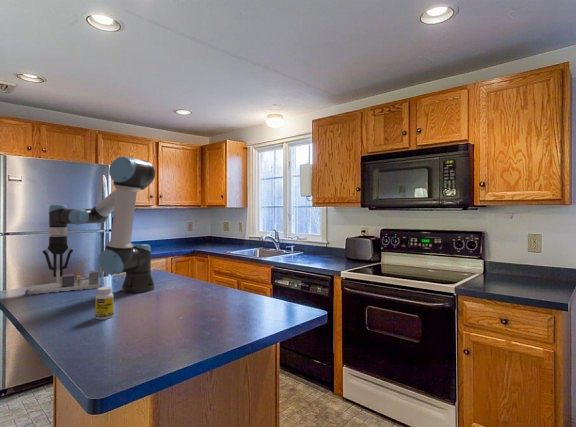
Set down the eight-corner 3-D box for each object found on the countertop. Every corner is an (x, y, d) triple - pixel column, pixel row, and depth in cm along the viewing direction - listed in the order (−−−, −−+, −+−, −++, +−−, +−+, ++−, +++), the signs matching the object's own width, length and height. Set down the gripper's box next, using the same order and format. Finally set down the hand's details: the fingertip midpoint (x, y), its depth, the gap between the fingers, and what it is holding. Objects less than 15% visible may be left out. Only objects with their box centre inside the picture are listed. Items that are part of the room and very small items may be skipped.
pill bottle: (94, 320, 129) (94, 290, 129) (95, 316, 134) (95, 287, 134) (113, 318, 132) (113, 289, 131) (113, 314, 137) (113, 285, 137)
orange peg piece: (80, 280, 187) (80, 271, 187) (80, 281, 185) (80, 271, 184) (76, 280, 186) (76, 271, 186) (77, 281, 184) (77, 272, 184)
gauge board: (98, 283, 192) (98, 268, 192) (100, 287, 181) (100, 272, 181) (30, 289, 176) (30, 273, 176) (28, 295, 165) (28, 278, 165)
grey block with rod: (91, 280, 189) (91, 271, 189) (92, 283, 181) (92, 274, 181) (60, 283, 182) (60, 273, 182) (60, 286, 174) (60, 276, 174)
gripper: (73, 234, 182) (73, 280, 182) (42, 235, 175) (42, 283, 175) (73, 235, 175) (73, 283, 175) (41, 236, 168) (41, 286, 169)
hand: (58, 283), depth 175 cm, fingers closed
